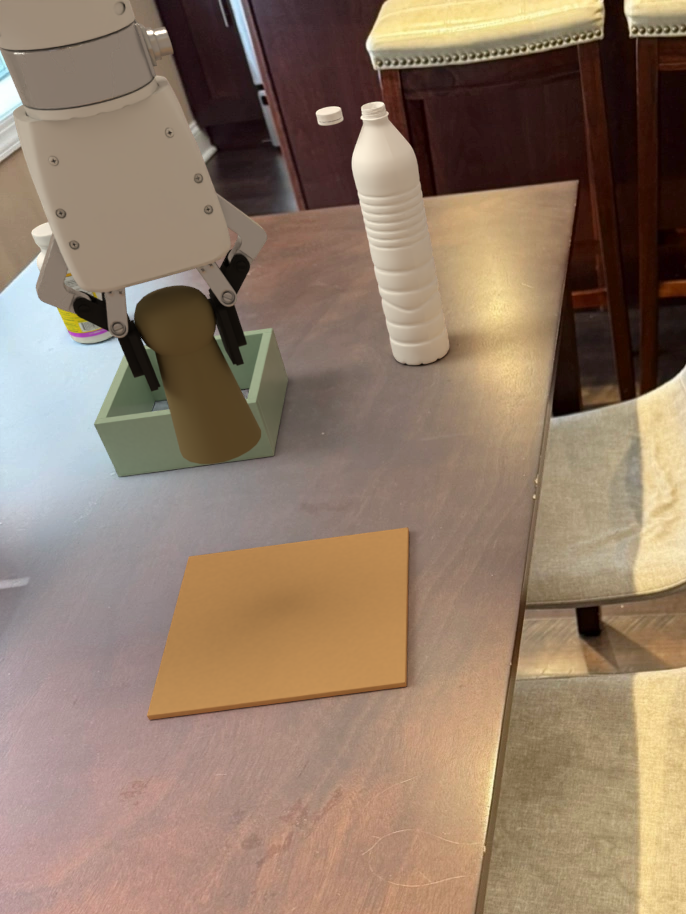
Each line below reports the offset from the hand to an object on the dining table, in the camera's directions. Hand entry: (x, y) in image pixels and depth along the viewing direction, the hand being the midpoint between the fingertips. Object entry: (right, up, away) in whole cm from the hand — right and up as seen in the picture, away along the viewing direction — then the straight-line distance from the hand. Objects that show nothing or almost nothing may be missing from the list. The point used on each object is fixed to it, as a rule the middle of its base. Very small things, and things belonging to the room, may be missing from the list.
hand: (193, 367), depth 70 cm
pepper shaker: (+1, -4, +4) cm, 6 cm away
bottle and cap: (+10, +17, +44) cm, 48 cm away
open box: (-11, +7, +37) cm, 40 cm away
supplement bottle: (-31, +24, +56) cm, 69 cm away
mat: (+3, -16, +14) cm, 21 cm away
